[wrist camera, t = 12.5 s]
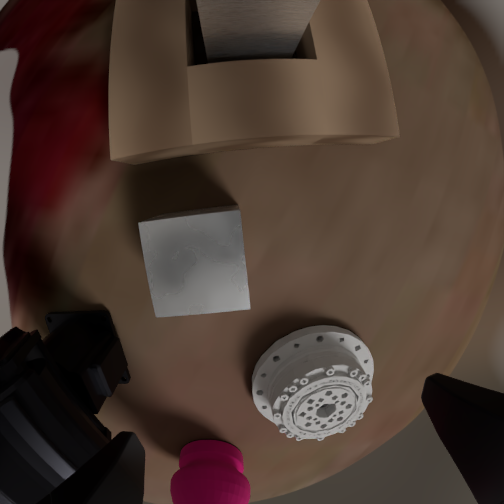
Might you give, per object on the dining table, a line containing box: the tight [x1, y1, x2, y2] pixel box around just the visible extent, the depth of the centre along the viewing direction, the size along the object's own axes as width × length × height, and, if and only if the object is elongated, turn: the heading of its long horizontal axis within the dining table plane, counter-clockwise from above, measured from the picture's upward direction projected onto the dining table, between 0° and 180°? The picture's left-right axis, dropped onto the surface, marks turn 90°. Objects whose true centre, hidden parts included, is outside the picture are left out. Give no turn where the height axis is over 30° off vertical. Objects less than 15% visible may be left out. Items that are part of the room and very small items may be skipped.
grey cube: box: [138, 205, 250, 317], centre depth 16 cm, size 5×5×5 cm
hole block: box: [109, 0, 400, 165], centre depth 14 cm, size 16×16×4 cm
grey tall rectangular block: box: [196, 0, 320, 64], centre depth 11 cm, size 5×5×10 cm
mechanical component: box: [252, 325, 374, 441], centre depth 20 cm, size 10×4×10 cm
